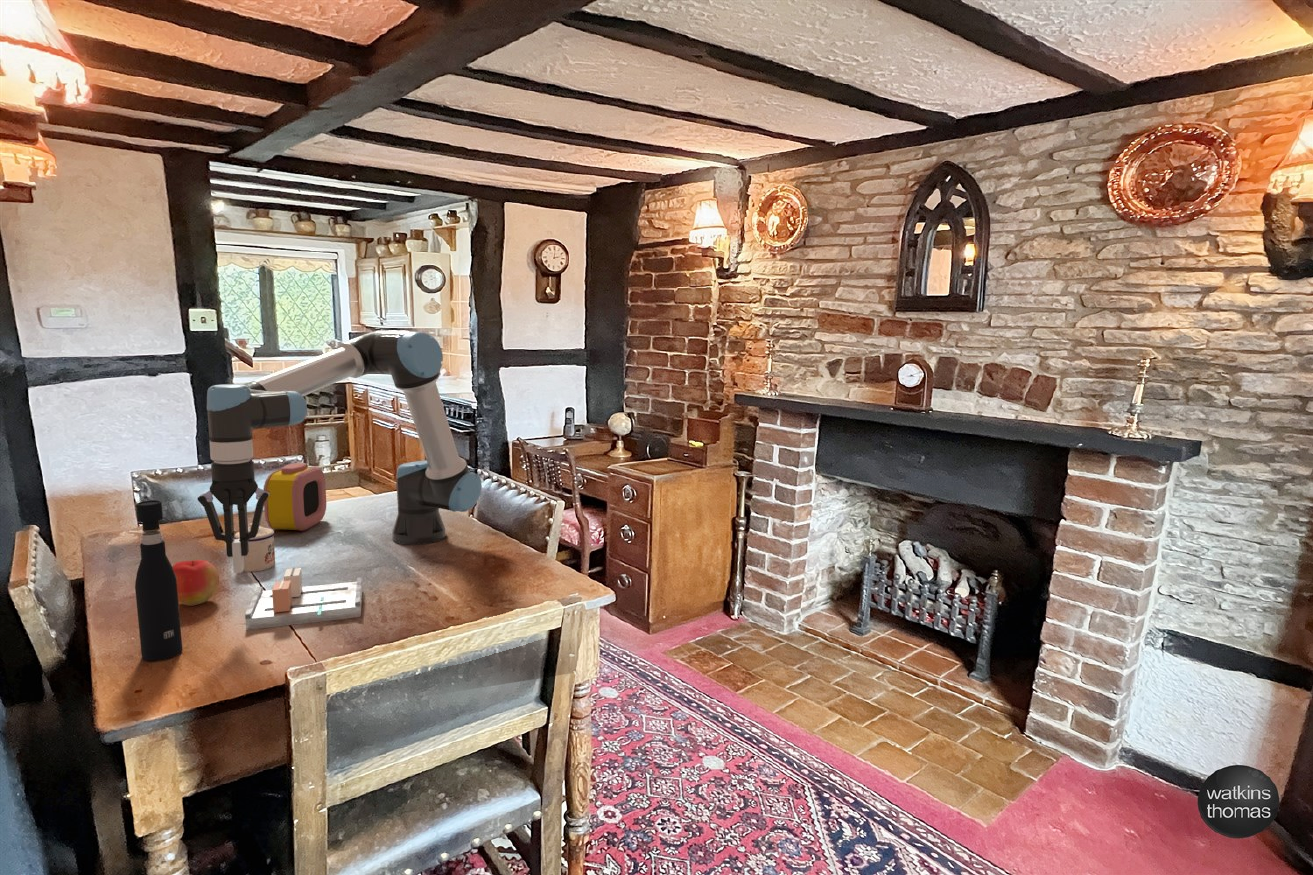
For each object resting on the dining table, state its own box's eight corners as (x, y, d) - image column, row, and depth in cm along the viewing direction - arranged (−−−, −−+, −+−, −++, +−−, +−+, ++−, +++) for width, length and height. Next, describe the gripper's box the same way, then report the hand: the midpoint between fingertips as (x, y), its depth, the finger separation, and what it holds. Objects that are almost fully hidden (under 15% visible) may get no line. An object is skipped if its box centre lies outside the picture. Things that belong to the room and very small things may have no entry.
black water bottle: (155, 646, 137) (141, 498, 132) (189, 646, 138) (177, 498, 133) (134, 662, 131) (118, 507, 126) (170, 661, 131) (156, 507, 127)
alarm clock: (299, 535, 209) (296, 472, 206) (263, 534, 209) (258, 471, 206) (329, 518, 227) (326, 460, 224) (295, 517, 227) (292, 459, 224)
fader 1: (292, 602, 154) (290, 579, 153) (289, 610, 149) (288, 587, 149) (276, 603, 153) (275, 580, 152) (273, 612, 148) (272, 589, 147)
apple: (182, 615, 152) (178, 571, 150) (161, 605, 157) (157, 562, 155) (228, 601, 160) (225, 559, 158) (207, 592, 165) (204, 551, 163)
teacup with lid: (273, 570, 180) (271, 526, 178) (233, 574, 176) (230, 529, 174) (279, 555, 191) (277, 514, 189) (241, 559, 187) (238, 517, 185)
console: (362, 587, 170) (361, 574, 170) (360, 620, 151) (359, 605, 151) (259, 597, 162) (259, 583, 162) (244, 634, 143) (243, 618, 143)
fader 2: (302, 588, 162) (301, 566, 161) (300, 596, 157) (298, 574, 156) (287, 589, 161) (286, 568, 160) (285, 597, 156) (283, 575, 155)
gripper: (271, 456, 149) (276, 562, 152) (199, 458, 144) (206, 567, 148) (265, 462, 142) (271, 573, 146) (190, 464, 137) (198, 579, 141)
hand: (238, 570), depth 147 cm, fingers closed
